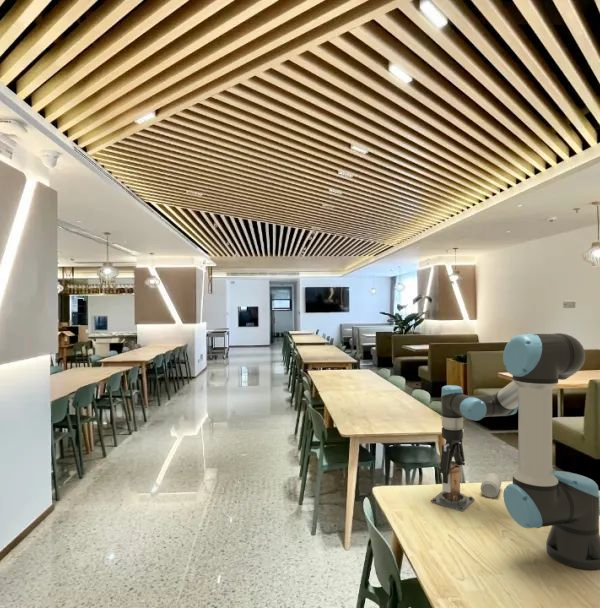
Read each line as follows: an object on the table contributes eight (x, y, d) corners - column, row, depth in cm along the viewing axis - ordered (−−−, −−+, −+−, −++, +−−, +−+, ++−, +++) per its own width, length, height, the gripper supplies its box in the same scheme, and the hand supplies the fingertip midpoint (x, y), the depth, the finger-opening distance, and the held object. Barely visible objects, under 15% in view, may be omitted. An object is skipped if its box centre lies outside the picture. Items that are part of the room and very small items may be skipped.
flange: (474, 500, 173) (474, 495, 173) (462, 511, 163) (462, 505, 164) (443, 492, 180) (443, 487, 180) (430, 502, 171) (430, 497, 171)
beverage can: (478, 494, 176) (482, 484, 187) (496, 501, 173) (499, 490, 184) (482, 478, 176) (486, 469, 186) (500, 485, 173) (503, 475, 183)
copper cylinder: (463, 499, 172) (462, 466, 173) (457, 503, 168) (456, 470, 168) (448, 495, 176) (447, 463, 176) (441, 499, 172) (441, 467, 172)
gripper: (454, 420, 184) (454, 475, 183) (429, 432, 166) (429, 493, 165) (473, 423, 179) (473, 480, 179) (449, 436, 161) (450, 499, 161)
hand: (452, 486), depth 172 cm, fingers open, 11 cm apart
